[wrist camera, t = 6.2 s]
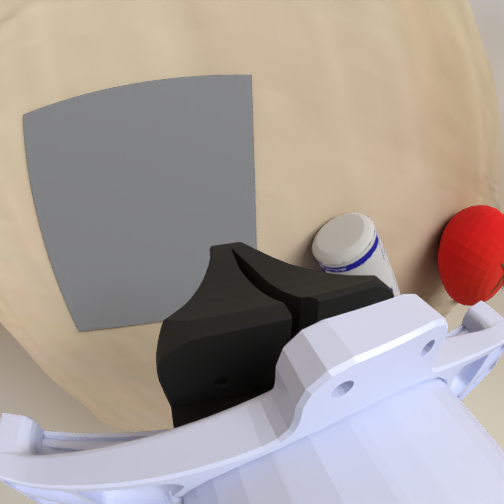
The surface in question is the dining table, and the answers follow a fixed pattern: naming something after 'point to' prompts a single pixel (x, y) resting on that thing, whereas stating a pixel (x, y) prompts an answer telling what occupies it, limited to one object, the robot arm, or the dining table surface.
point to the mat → (142, 192)
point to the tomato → (473, 255)
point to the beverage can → (353, 249)
